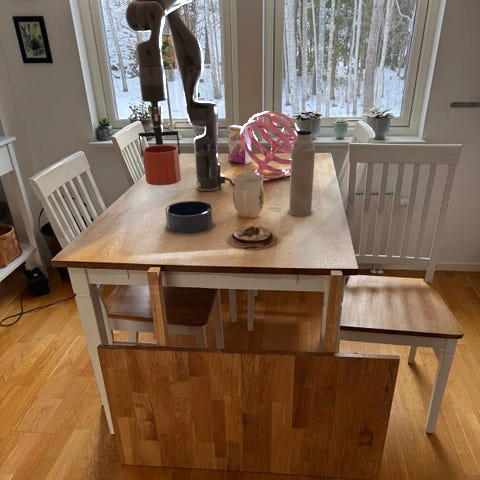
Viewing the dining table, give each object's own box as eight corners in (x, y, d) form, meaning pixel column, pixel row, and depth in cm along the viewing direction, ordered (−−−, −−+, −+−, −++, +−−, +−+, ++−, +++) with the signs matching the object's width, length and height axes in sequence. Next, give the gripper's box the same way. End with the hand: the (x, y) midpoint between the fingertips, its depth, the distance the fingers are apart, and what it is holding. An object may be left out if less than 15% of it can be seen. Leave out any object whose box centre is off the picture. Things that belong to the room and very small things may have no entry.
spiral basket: (255, 141, 182) (291, 91, 188) (214, 147, 204) (248, 103, 210) (292, 192, 199) (324, 145, 205) (251, 193, 220) (281, 150, 226)
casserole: (202, 215, 170) (201, 198, 166) (220, 229, 158) (219, 211, 154) (161, 223, 164) (159, 205, 161) (176, 238, 152) (174, 219, 149)
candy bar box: (228, 161, 235) (226, 126, 226) (234, 159, 238) (233, 124, 229) (245, 164, 229) (244, 128, 220) (251, 162, 232) (251, 127, 223)
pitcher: (228, 224, 162) (227, 184, 154) (237, 207, 177) (236, 170, 169) (260, 226, 160) (260, 185, 153) (266, 208, 175) (267, 170, 168)
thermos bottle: (292, 207, 175) (295, 127, 160) (313, 209, 173) (318, 128, 158) (286, 215, 169) (289, 132, 153) (308, 217, 166) (313, 133, 151)
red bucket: (145, 177, 159) (139, 129, 151) (181, 174, 160) (177, 127, 152) (144, 186, 149) (137, 136, 141) (182, 184, 151) (178, 134, 143)
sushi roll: (244, 253, 141) (243, 240, 139) (221, 237, 152) (220, 225, 150) (285, 242, 147) (285, 230, 145) (260, 228, 158) (260, 216, 156)
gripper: (165, 84, 134) (171, 148, 143) (165, 79, 145) (171, 138, 155) (139, 86, 133) (147, 149, 143) (140, 80, 145) (148, 140, 154)
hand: (159, 143), depth 149 cm, fingers closed on red bucket, 1 cm apart
